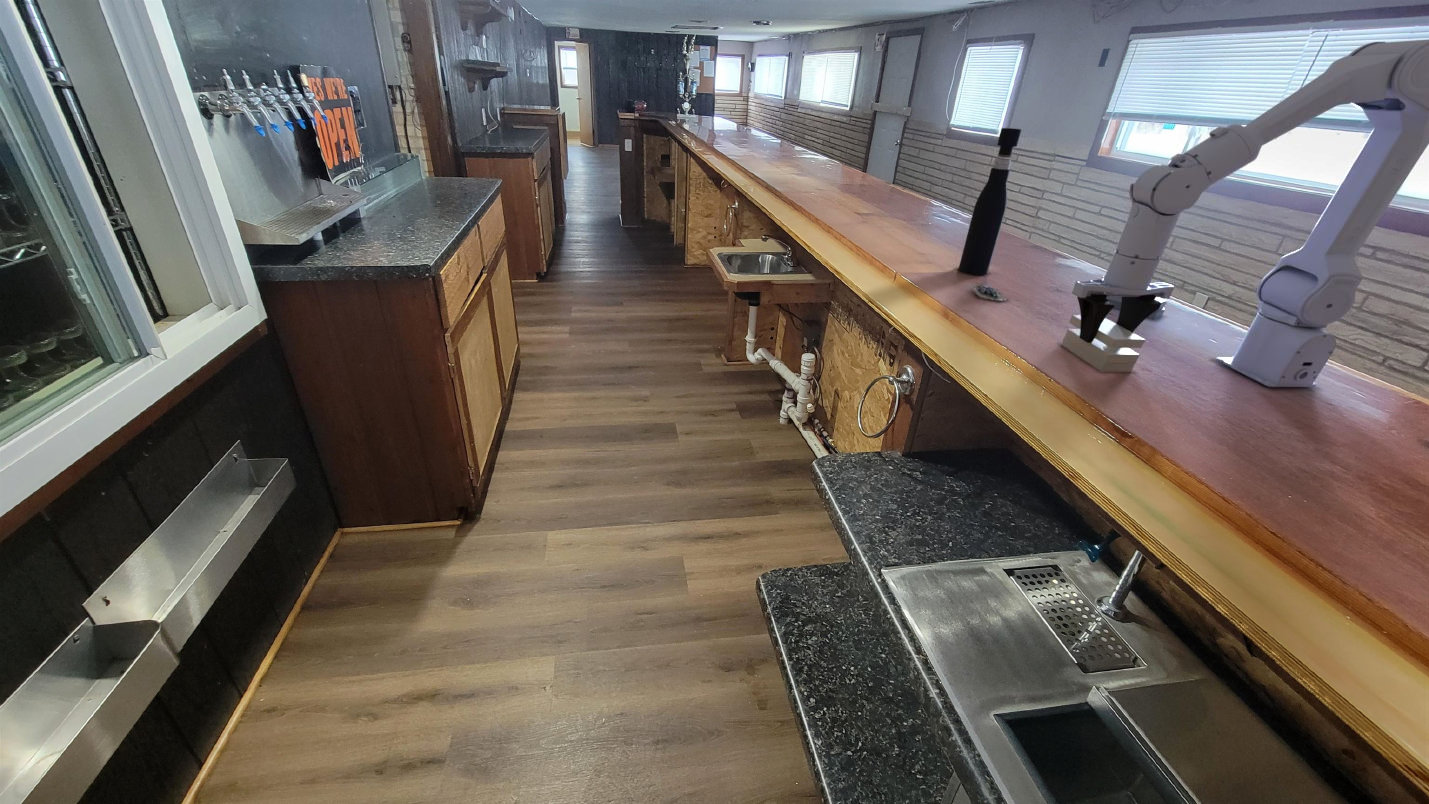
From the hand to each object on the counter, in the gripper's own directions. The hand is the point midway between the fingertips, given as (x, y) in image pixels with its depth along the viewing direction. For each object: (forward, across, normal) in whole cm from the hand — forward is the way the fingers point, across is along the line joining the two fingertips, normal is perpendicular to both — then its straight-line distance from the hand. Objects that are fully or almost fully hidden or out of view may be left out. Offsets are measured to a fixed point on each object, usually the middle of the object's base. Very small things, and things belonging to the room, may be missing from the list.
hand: (1101, 340), depth 89 cm
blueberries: (+3, +2, -30) cm, 30 cm away
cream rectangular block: (+3, 0, 0) cm, 3 cm away
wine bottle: (+3, -3, -47) cm, 47 cm away
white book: (-1, 0, 0) cm, 1 cm away
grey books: (+3, -23, -22) cm, 32 cm away
